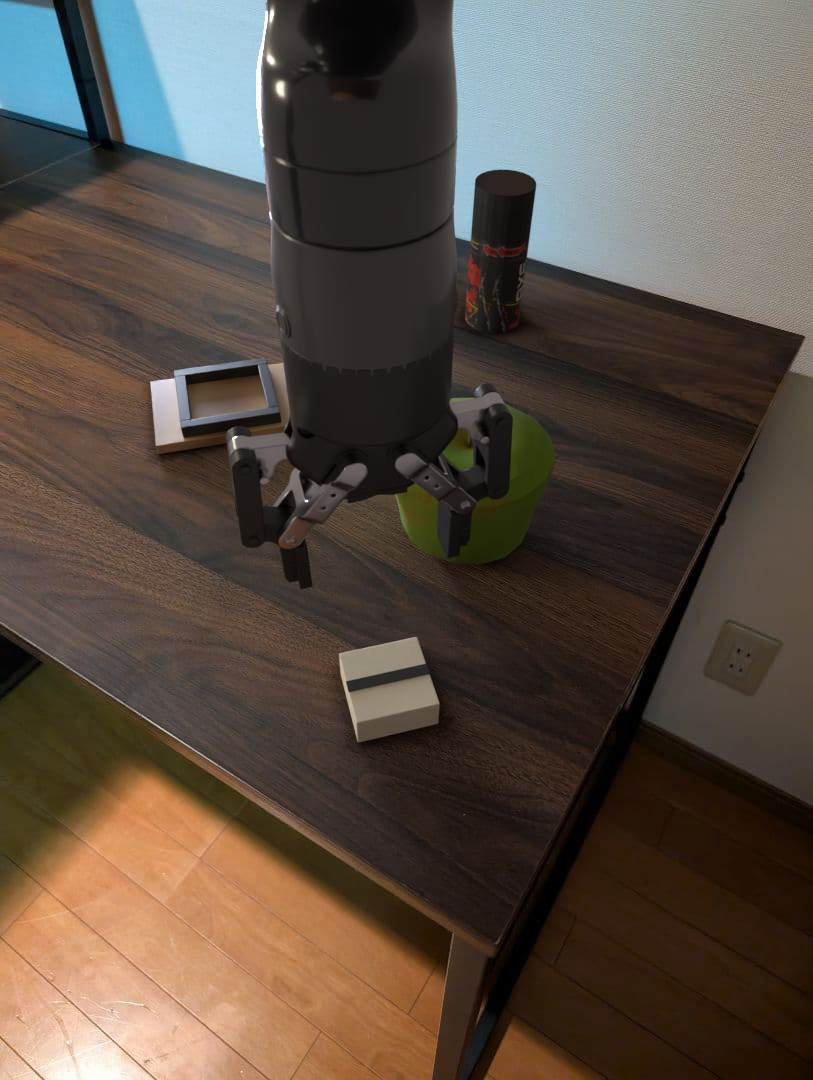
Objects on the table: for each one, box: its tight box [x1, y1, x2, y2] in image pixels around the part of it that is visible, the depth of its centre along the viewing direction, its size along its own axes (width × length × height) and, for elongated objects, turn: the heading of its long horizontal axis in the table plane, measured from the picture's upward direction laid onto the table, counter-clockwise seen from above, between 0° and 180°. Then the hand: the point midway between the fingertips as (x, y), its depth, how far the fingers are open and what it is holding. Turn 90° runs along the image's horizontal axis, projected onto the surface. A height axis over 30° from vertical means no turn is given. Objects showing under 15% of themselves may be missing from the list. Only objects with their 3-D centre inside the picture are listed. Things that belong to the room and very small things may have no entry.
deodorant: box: [464, 169, 537, 334], centre depth 83 cm, size 6×6×15 cm
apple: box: [394, 397, 557, 565], centre depth 62 cm, size 12×12×11 cm
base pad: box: [149, 357, 290, 455], centre depth 76 cm, size 14×10×2 cm
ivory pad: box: [338, 636, 441, 743], centre depth 54 cm, size 6×6×3 cm
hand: (376, 561), depth 46 cm, fingers open, 8 cm apart
